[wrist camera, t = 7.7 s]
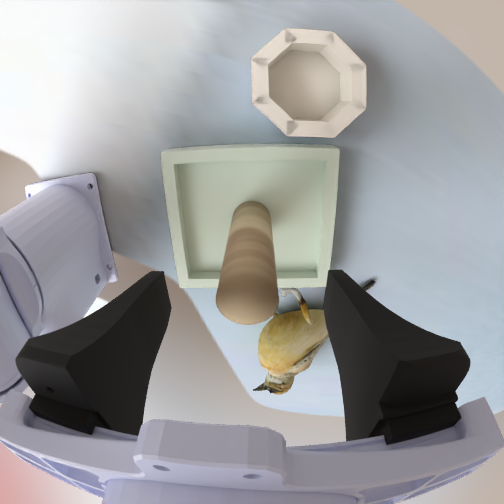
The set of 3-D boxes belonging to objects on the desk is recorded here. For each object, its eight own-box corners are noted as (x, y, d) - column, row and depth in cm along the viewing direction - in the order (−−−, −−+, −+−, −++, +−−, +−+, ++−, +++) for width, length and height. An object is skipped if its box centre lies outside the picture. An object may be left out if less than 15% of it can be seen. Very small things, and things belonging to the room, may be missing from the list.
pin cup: (350, 134, 18) (365, 140, 15) (254, 132, 18) (252, 136, 15) (350, 44, 15) (365, 36, 12) (251, 39, 15) (249, 27, 12)
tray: (323, 273, 23) (327, 286, 21) (184, 274, 23) (179, 287, 22) (332, 145, 18) (339, 148, 17) (168, 148, 19) (160, 153, 17)
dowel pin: (270, 236, 21) (278, 324, 13) (233, 236, 21) (218, 324, 13) (270, 200, 19) (279, 274, 11) (231, 201, 19) (212, 275, 12)
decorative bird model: (214, 314, 21) (257, 412, 23) (380, 257, 20) (396, 363, 22) (218, 295, 25) (255, 384, 27) (359, 247, 25) (377, 341, 26)
